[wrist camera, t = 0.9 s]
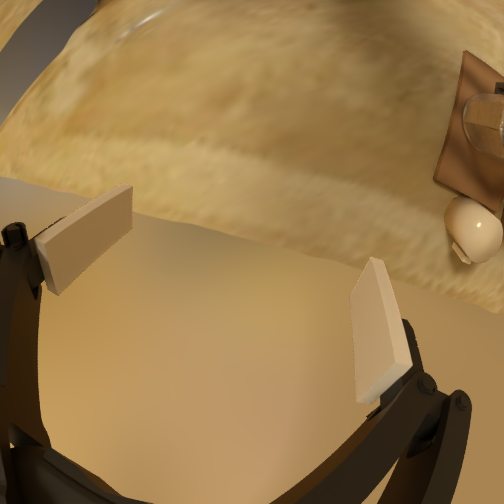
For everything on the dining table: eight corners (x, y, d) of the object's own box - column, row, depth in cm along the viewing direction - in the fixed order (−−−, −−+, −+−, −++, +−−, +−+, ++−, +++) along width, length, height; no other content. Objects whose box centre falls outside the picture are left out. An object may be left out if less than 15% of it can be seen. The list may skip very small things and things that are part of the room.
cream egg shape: (454, 188, 35) (480, 208, 27) (484, 204, 34) (509, 225, 27) (434, 235, 40) (454, 262, 32) (464, 247, 39) (484, 274, 32)
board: (463, 51, 23) (466, 50, 22) (524, 98, 21) (528, 98, 20) (432, 177, 35) (435, 179, 34) (493, 210, 34) (497, 212, 33)
